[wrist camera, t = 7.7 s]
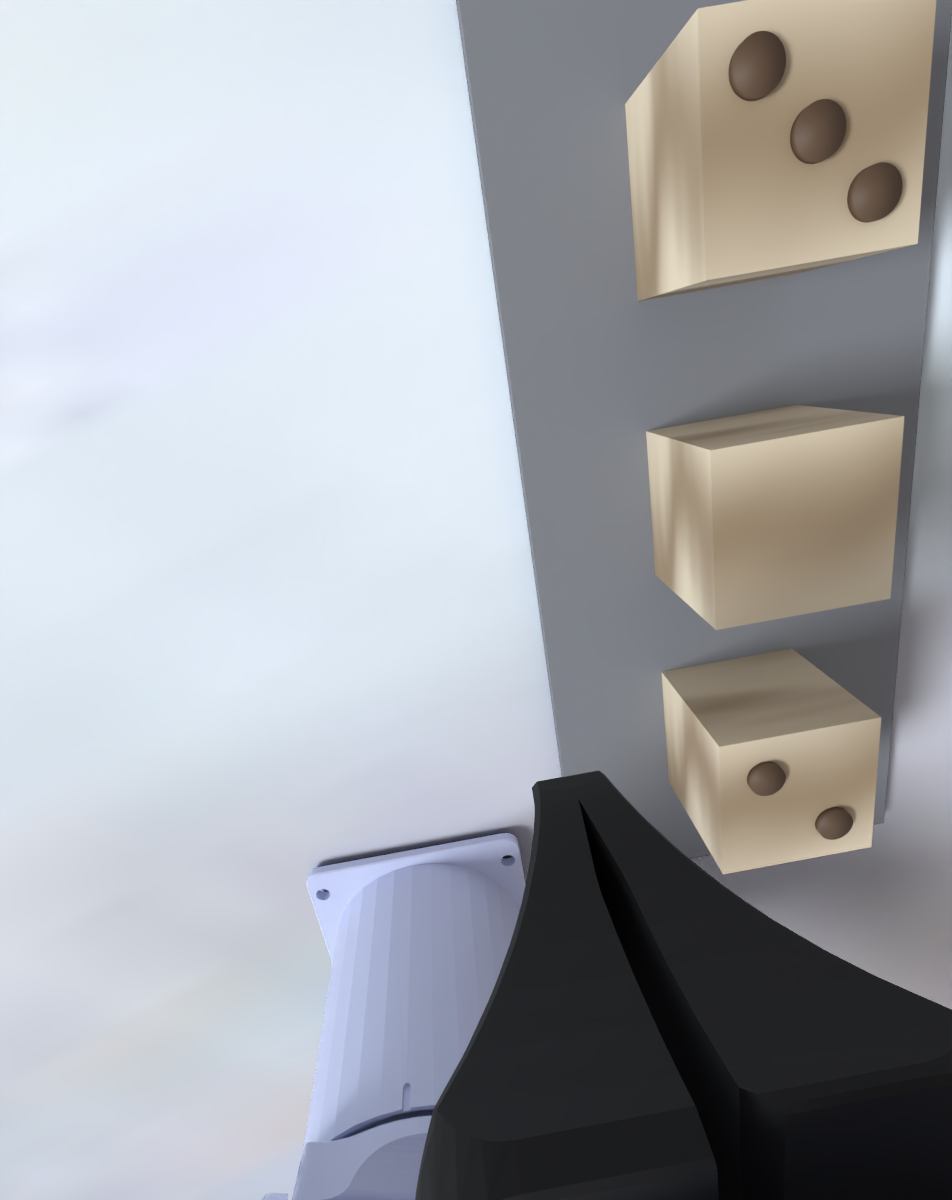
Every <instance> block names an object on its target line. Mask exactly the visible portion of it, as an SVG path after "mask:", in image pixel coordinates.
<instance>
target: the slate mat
mask: <svg viewBox="0 0 952 1200" xmlns="http://www.w3.org/2000/svg"><path fill="white" fill-rule="evenodd" d="M739 1H745V0H456V4H457V11H458V18H459V26H460V33H461V40H462V48H463V55H464V62H465V70H466V77H467V84H468V92H469V99H470V106H471V114H472V121H473V128H474V136H475V143H476V150H477V158H478V165H479V172H480V180H481V187H482V194H483V202H484V209H485V216H486V224H487V231H488V238H489V246H490V253H491V260H492V268H493V275H494V282H495V290H496V297H497V304H498V312H499V319H500V326H501V334H502V341H503V348H504V356H505V363H506V370H507V378H508V385H509V392H510V400H511V407H512V414H513V422H514V429H515V436H516V444H517V451H518V458H519V466H520V473H521V480H522V488H523V495H524V502H525V510H526V517H527V524H528V532H529V539H530V546H531V554H532V561H533V568H534V576H535V583H536V590H537V598H538V605H539V612H540V620H541V627H542V634H543V642H544V649H545V656H546V664H547V671H548V678H549V686H550V693H551V700H552V708H553V715H554V722H555V730H556V737H557V744H558V752H559V759H560V766H561V774H562V777H566V776H571V775H577V774H582V773H587V772H593V771H598V770H599V771H600V772H602V773H603V774H605V775H606V777H607V778H608V779H609V780H610V781H611V783H612V784H613V785H614V786H615V787H616V788H617V790H618V791H619V792H620V793H621V794H622V795H623V796H624V797H625V798H626V799H627V800H628V801H629V803H630V804H631V805H632V806H633V807H634V808H635V809H636V810H637V811H638V812H639V813H640V814H641V815H642V816H643V817H644V818H645V819H646V820H647V821H648V822H649V823H650V824H651V825H652V826H654V827H655V828H656V829H657V830H658V831H659V832H660V833H661V834H662V835H663V836H664V837H665V838H666V839H667V840H669V841H670V842H671V843H672V844H673V845H674V846H675V847H676V848H678V849H679V850H680V851H681V852H682V853H683V854H684V855H686V856H687V857H688V858H689V859H691V858H696V857H701V856H707V855H711V853H710V851H709V850H708V848H707V846H706V844H705V843H704V841H703V839H702V838H701V836H700V834H699V832H698V831H697V829H696V827H695V826H694V824H693V822H692V820H691V819H690V817H689V815H688V814H687V812H686V810H685V809H684V807H683V805H682V803H681V802H680V800H679V798H678V797H677V795H676V793H675V791H674V790H673V788H672V786H671V785H670V783H669V779H668V764H667V748H666V733H665V717H664V702H663V686H662V672H664V671H670V670H675V669H681V668H686V667H692V666H697V665H703V664H708V663H714V662H720V661H725V660H731V659H736V658H742V657H747V656H753V655H758V654H764V653H769V652H775V651H780V650H786V649H791V648H792V649H793V650H795V651H796V652H797V653H799V654H800V655H801V656H802V657H804V658H805V659H806V660H808V661H809V662H810V663H812V664H813V665H814V666H815V667H817V668H818V669H819V670H821V671H822V672H823V673H824V674H826V675H827V676H828V677H830V678H831V679H832V680H834V681H835V682H836V683H837V684H839V685H840V686H841V687H843V688H844V689H845V690H847V691H848V692H849V693H850V694H852V695H853V696H854V697H856V698H857V699H858V700H860V701H861V702H862V703H863V704H865V705H866V706H867V707H869V708H870V709H871V710H872V711H874V712H875V713H876V714H878V715H879V716H880V717H881V728H880V741H879V754H878V767H877V780H876V794H875V807H874V820H873V825H874V824H880V823H884V813H885V801H886V790H887V778H888V766H889V754H890V742H891V730H892V718H893V706H894V694H895V682H896V671H897V659H898V647H899V635H900V623H901V611H902V599H903V587H904V575H905V563H906V552H907V540H908V528H909V516H910V504H911V492H912V480H913V468H914V456H915V444H916V433H917V421H918V409H919V397H920V385H921V373H922V361H923V349H924V337H925V325H926V313H927V302H928V290H929V278H930V266H931V254H932V242H933V230H934V218H935V206H936V194H937V183H938V171H939V159H940V147H941V135H942V123H943V111H944V99H945V87H946V75H947V64H948V52H949V40H950V28H951V16H952V0H936V12H935V25H934V38H933V51H932V64H931V77H930V90H929V103H928V116H927V129H926V142H925V155H924V168H923V181H922V194H921V207H920V220H919V233H918V244H915V245H911V246H907V247H903V248H899V249H895V250H891V251H887V252H883V253H879V254H875V255H871V256H867V257H863V258H859V259H855V260H851V261H847V262H843V263H839V264H835V265H831V266H826V267H822V268H818V269H814V270H810V271H806V272H802V273H798V274H793V275H787V276H781V277H775V278H769V279H764V280H758V281H752V282H746V283H741V284H735V285H729V286H723V287H718V288H712V289H706V290H700V291H694V292H689V293H683V294H677V295H671V296H666V297H660V298H654V299H648V300H642V301H638V298H637V282H636V267H635V251H634V236H633V220H632V205H631V189H630V174H629V158H628V142H627V127H626V111H625V104H626V102H627V101H628V100H629V98H630V97H631V96H632V94H633V93H634V92H635V90H636V89H637V88H638V86H639V85H640V84H641V83H642V81H643V80H644V79H645V77H646V76H647V75H648V73H649V72H650V71H651V69H652V68H653V67H654V65H655V64H656V63H657V61H658V60H659V59H660V58H661V56H662V55H663V54H664V52H665V51H666V50H667V48H668V47H669V46H670V44H671V43H672V42H673V40H674V39H675V38H676V36H677V35H678V34H679V33H680V31H681V30H682V29H683V27H684V26H685V25H686V23H687V22H688V21H689V19H690V18H691V17H692V15H693V14H694V13H695V11H696V10H697V9H698V8H704V7H710V6H716V5H721V4H727V3H733V2H739ZM793 405H802V406H812V407H821V408H831V409H841V410H850V411H860V412H869V413H879V414H889V415H898V416H904V429H903V442H902V455H901V468H900V481H899V494H898V507H897V520H896V533H895V546H894V559H893V572H892V585H891V598H890V599H886V600H880V601H875V602H869V603H864V604H858V605H852V606H847V607H841V608H836V609H830V610H825V611H819V612H814V613H808V614H803V615H797V616H791V617H786V618H780V619H775V620H769V621H764V622H758V623H753V624H747V625H742V626H736V627H730V628H725V629H719V630H715V629H714V628H713V627H712V626H711V625H710V624H709V623H708V622H706V621H705V620H704V619H703V618H702V617H701V616H700V615H699V614H698V613H697V612H695V611H694V610H693V609H692V608H691V607H690V606H689V605H688V604H687V603H686V602H684V601H683V600H682V599H681V598H680V597H679V596H678V595H677V594H676V593H675V592H673V591H672V590H671V589H670V588H669V587H668V586H667V585H666V584H665V583H664V582H663V581H661V580H660V579H659V578H658V577H657V576H656V575H655V562H654V546H653V531H652V515H651V500H650V484H649V469H648V453H647V438H646V431H651V430H656V429H662V428H668V427H673V426H679V425H685V424H690V423H696V422H702V421H707V420H713V419H719V418H724V417H730V416H736V415H742V414H747V413H753V412H759V411H764V410H770V409H776V408H781V407H787V406H793Z"/></svg>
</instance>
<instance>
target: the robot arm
mask: <svg viewBox="0 0 952 1200" xmlns="http://www.w3.org/2000/svg"><path fill="white" fill-rule="evenodd" d="M532 791H533V797H534V804H535V821H534V835H533V843H532V851H531V859H530V865H529V870H528V875H527V880H526V884H525V878H524V872H523V866H522V861H521V855H520V849H519V844H518V840H517V838H516V837H515V836H514V835H513V834H510V833H501V834H496V835H490V836H485V837H479V838H474V839H468V840H463V841H457V842H452V843H447V844H441V845H436V846H430V847H425V848H419V849H414V850H408V851H403V852H398V853H392V854H387V855H381V856H376V857H370V858H365V859H359V860H354V861H349V862H343V863H338V864H332V865H327V866H321V867H317V868H314V869H312V870H311V871H310V872H309V874H308V877H307V882H306V883H307V888H308V891H309V894H310V897H311V900H312V903H313V906H314V909H315V912H316V915H317V918H318V921H319V924H320V927H321V930H322V933H323V936H324V939H325V942H326V945H327V948H328V951H329V954H330V957H331V960H332V969H331V975H330V982H329V988H328V994H327V1001H326V1007H325V1013H324V1020H323V1026H322V1033H321V1039H320V1045H319V1052H318V1058H317V1064H316V1071H315V1077H314V1084H313V1090H312V1096H311V1103H310V1109H309V1115H308V1122H307V1128H306V1135H305V1141H304V1147H303V1153H302V1157H301V1162H300V1166H299V1170H298V1175H297V1179H296V1184H295V1188H294V1193H293V1197H292V1200H952V1010H951V1009H949V1008H946V1007H944V1006H942V1005H940V1004H937V1003H935V1002H933V1001H931V1000H928V999H926V998H924V997H921V996H919V995H917V994H915V993H912V992H910V991H908V990H906V989H903V988H901V987H899V986H896V985H894V984H892V983H890V982H887V981H885V980H883V979H881V978H878V977H876V976H874V975H872V974H870V973H868V972H866V971H864V970H862V969H860V968H858V967H856V966H854V965H852V964H850V963H848V962H847V961H845V960H843V959H841V958H839V957H837V956H835V955H833V954H831V953H829V952H827V951H825V950H824V949H822V948H820V947H818V946H817V945H815V944H813V943H811V942H810V941H808V940H806V939H805V938H803V937H801V936H799V935H798V934H796V933H794V932H793V931H791V930H789V929H788V928H786V927H784V926H782V925H781V924H779V923H777V922H776V921H774V920H772V919H771V918H769V917H768V916H766V915H765V914H763V913H762V912H760V911H759V910H757V909H756V908H754V907H753V906H751V905H750V904H748V903H747V902H745V901H744V900H743V899H741V898H740V897H738V896H737V895H736V894H734V893H733V892H731V891H730V890H729V889H727V888H726V887H724V886H723V885H722V884H720V883H719V882H718V881H717V880H715V879H714V878H713V877H711V876H710V875H709V874H708V873H706V872H705V871H704V870H702V869H701V868H700V867H699V866H698V865H696V864H695V863H694V862H693V861H692V860H690V859H689V858H688V857H687V856H686V855H684V854H683V853H682V852H681V851H680V850H679V849H678V848H676V847H675V846H674V845H673V844H672V843H671V842H670V841H669V840H667V839H666V838H665V837H664V836H663V835H662V834H661V833H660V832H659V831H658V830H657V829H656V828H655V827H654V826H652V825H651V824H650V823H649V822H648V821H647V820H646V819H645V818H644V817H643V816H642V815H641V814H640V813H639V812H638V811H637V810H636V809H635V808H634V807H633V806H632V805H631V804H630V803H629V801H628V800H627V799H626V798H625V797H624V796H623V795H622V794H621V793H620V792H619V791H618V790H617V788H616V787H615V786H614V785H613V784H612V783H611V781H610V780H609V779H608V778H607V777H606V775H605V774H603V773H602V772H600V771H599V770H598V771H593V772H587V773H582V774H577V775H571V776H566V777H560V778H555V779H549V780H544V781H538V782H536V784H535V785H534V786H533V787H532ZM506 855H511V856H512V857H510V858H508V859H504V858H503V857H504V856H506ZM321 889H326V890H328V892H322V891H320V890H321ZM262 1200H288V1194H277V1193H270V1194H266V1195H265V1196H264V1197H263V1198H262Z"/></svg>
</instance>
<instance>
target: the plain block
mask: <svg viewBox="0 0 952 1200" xmlns="http://www.w3.org/2000/svg"><path fill="white" fill-rule="evenodd" d="M903 429H904V416H898V415H889V414H879V413H869V412H860V411H850V410H841V409H831V408H821V407H812V406H802V405H793V406H787V407H781V408H776V409H770V410H764V411H759V412H753V413H747V414H742V415H736V416H730V417H724V418H719V419H713V420H707V421H702V422H696V423H690V424H685V425H679V426H673V427H668V428H662V429H656V430H651V431H646V438H647V453H648V469H649V484H650V500H651V515H652V531H653V546H654V562H655V575H656V576H657V577H658V578H659V579H660V580H661V581H663V582H664V583H665V584H666V585H667V586H668V587H669V588H670V589H671V590H672V591H673V592H675V593H676V594H677V595H678V596H679V597H680V598H681V599H682V600H683V601H684V602H686V603H687V604H688V605H689V606H690V607H691V608H692V609H693V610H694V611H695V612H697V613H698V614H699V615H700V616H701V617H702V618H703V619H704V620H705V621H706V622H708V623H709V624H710V625H711V626H712V627H713V628H714V629H715V630H719V629H725V628H730V627H736V626H742V625H747V624H753V623H758V622H764V621H769V620H775V619H780V618H786V617H791V616H797V615H803V614H808V613H814V612H819V611H825V610H830V609H836V608H841V607H847V606H852V605H858V604H864V603H869V602H875V601H880V600H886V599H890V598H891V585H892V572H893V559H894V546H895V533H896V520H897V507H898V494H899V481H900V468H901V455H902V442H903Z"/></svg>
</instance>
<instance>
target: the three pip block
mask: <svg viewBox="0 0 952 1200" xmlns="http://www.w3.org/2000/svg"><path fill="white" fill-rule="evenodd" d="M935 12H936V0H745V1H739V2H733V3H727V4H721V5H716V6H710V7H704V8H698V9H697V10H696V11H695V13H694V14H693V15H692V17H691V18H690V19H689V21H688V22H687V23H686V25H685V26H684V27H683V29H682V30H681V31H680V33H679V34H678V35H677V36H676V38H675V39H674V40H673V42H672V43H671V44H670V46H669V47H668V48H667V50H666V51H665V52H664V54H663V55H662V56H661V58H660V59H659V60H658V61H657V63H656V64H655V65H654V67H653V68H652V69H651V71H650V72H649V73H648V75H647V76H646V77H645V79H644V80H643V81H642V83H641V84H640V85H639V86H638V88H637V89H636V90H635V92H634V93H633V94H632V96H631V97H630V98H629V100H628V101H627V102H626V104H625V111H626V127H627V142H628V158H629V174H630V189H631V205H632V220H633V236H634V251H635V267H636V282H637V298H638V301H642V300H648V299H654V298H660V297H666V296H671V295H677V294H683V293H689V292H694V291H700V290H706V289H712V288H718V287H723V286H729V285H735V284H741V283H746V282H752V281H758V280H764V279H769V278H775V277H781V276H787V275H793V274H798V273H802V272H806V271H810V270H814V269H818V268H822V267H826V266H831V265H835V264H839V263H843V262H847V261H851V260H855V259H859V258H863V257H867V256H871V255H875V254H879V253H883V252H887V251H891V250H895V249H899V248H903V247H907V246H911V245H915V244H918V233H919V220H920V207H921V194H922V181H923V168H924V155H925V142H926V129H927V116H928V103H929V90H930V77H931V64H932V51H933V38H934V25H935Z"/></svg>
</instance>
